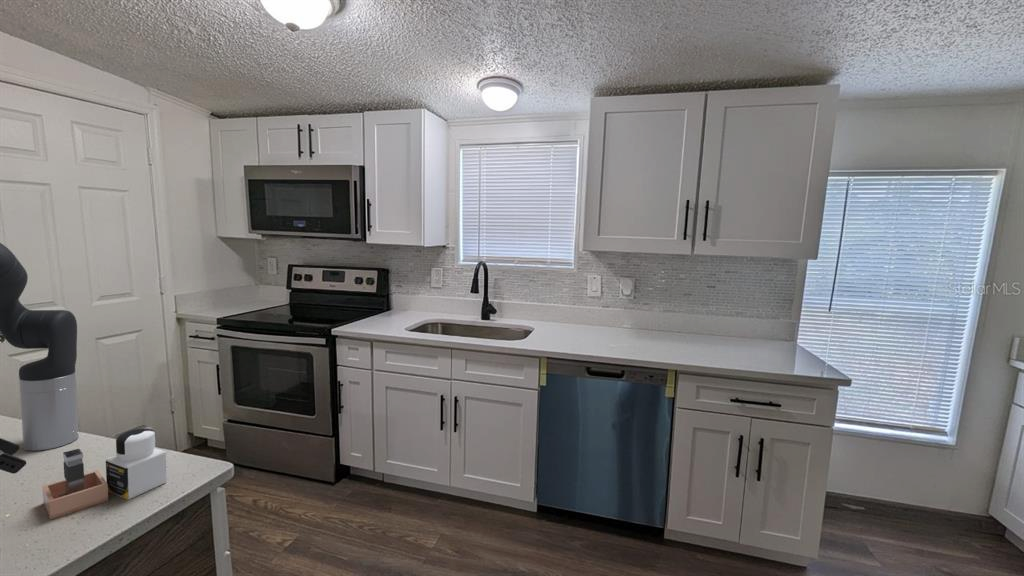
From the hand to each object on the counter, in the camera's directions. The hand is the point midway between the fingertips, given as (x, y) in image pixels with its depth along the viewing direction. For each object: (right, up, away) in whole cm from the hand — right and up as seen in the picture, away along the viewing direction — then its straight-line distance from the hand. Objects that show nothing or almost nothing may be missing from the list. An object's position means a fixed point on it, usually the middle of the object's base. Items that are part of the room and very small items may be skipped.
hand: (18, 459), depth 76 cm
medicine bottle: (+10, -11, +13) cm, 20 cm away
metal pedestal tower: (+3, -11, +7) cm, 13 cm away
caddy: (+3, -11, +7) cm, 13 cm away
